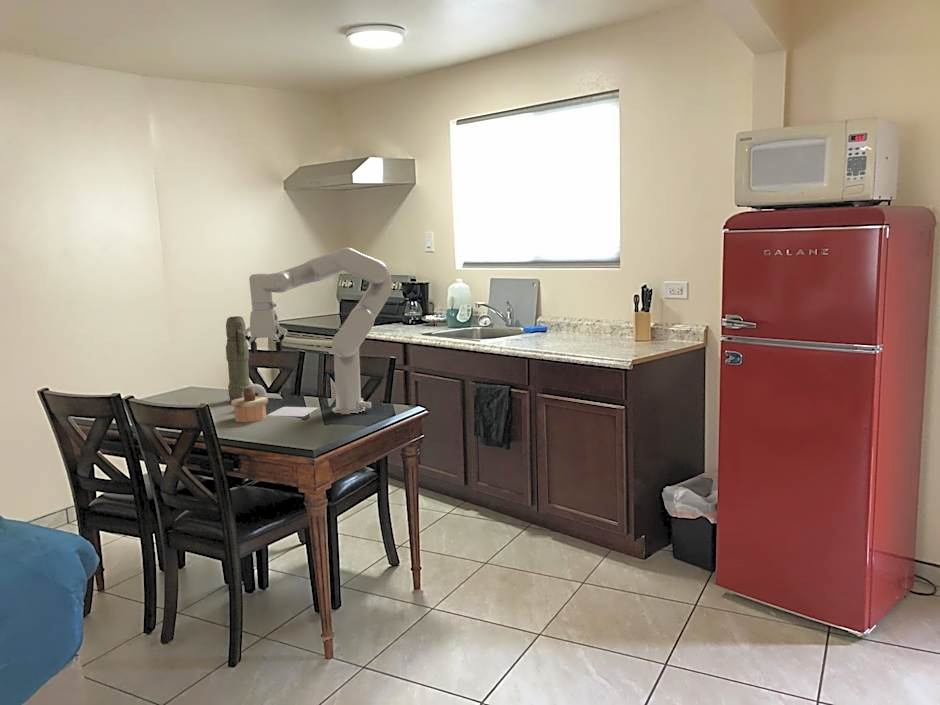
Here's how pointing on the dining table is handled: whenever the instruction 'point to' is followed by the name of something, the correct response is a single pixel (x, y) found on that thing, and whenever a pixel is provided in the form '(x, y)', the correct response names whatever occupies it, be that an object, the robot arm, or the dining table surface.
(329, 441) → the dining table surface
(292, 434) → the dining table surface
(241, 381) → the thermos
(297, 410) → the mat
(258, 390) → the donut
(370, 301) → the robot arm
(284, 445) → the dining table surface
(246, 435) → the dining table surface
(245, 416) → the bowl
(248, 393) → the lid
